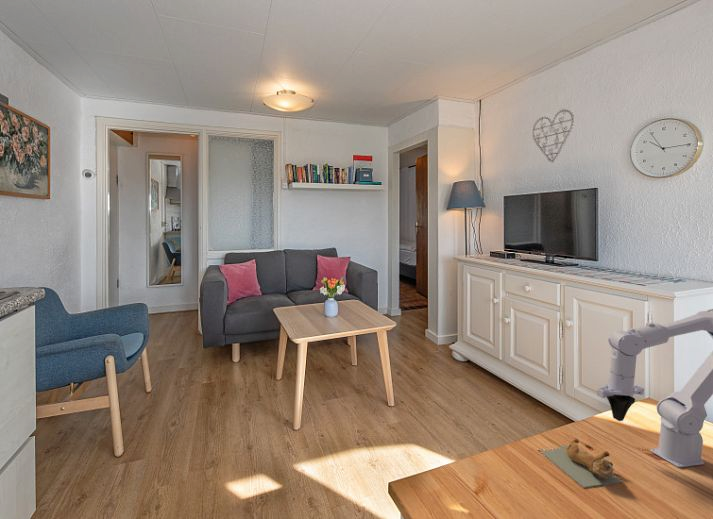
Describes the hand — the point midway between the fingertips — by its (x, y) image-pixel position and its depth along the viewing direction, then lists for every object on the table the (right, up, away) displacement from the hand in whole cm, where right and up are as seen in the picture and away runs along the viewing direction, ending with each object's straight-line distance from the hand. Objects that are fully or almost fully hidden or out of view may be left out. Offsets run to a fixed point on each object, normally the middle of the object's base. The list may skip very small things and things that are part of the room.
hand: (618, 419), depth 106 cm
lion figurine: (-10, -6, -6) cm, 13 cm away
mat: (-16, -9, -7) cm, 20 cm away
